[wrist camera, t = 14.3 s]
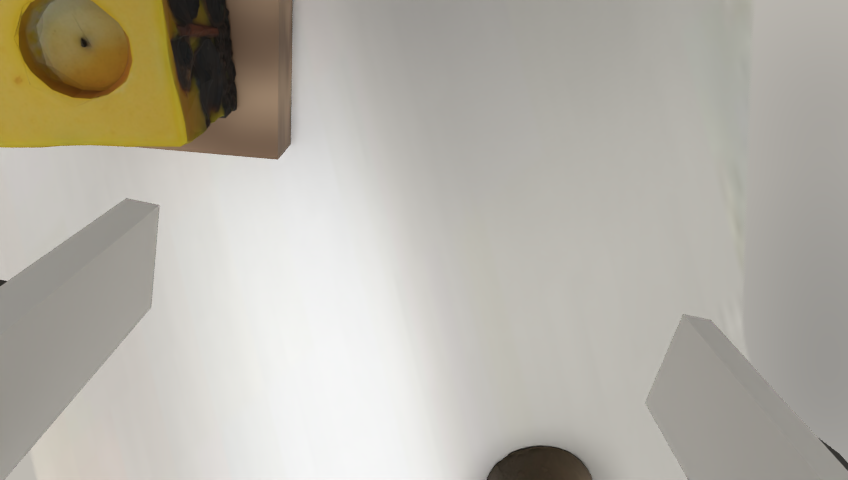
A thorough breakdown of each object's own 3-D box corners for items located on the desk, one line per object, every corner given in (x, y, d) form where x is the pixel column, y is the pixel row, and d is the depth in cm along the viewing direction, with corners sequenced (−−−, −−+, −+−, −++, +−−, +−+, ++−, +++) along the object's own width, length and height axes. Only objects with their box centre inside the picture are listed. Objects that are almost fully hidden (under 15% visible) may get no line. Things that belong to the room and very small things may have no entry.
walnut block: (56, -114, 39) (7, -128, 35) (295, -89, 40) (279, -100, 35) (82, 123, 45) (43, 138, 40) (292, 142, 45) (277, 159, 41)
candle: (45, -67, 36) (-85, -86, 27) (222, -68, 36) (153, -88, 27) (83, 112, 40) (-20, 150, 30) (242, 111, 40) (188, 148, 30)
